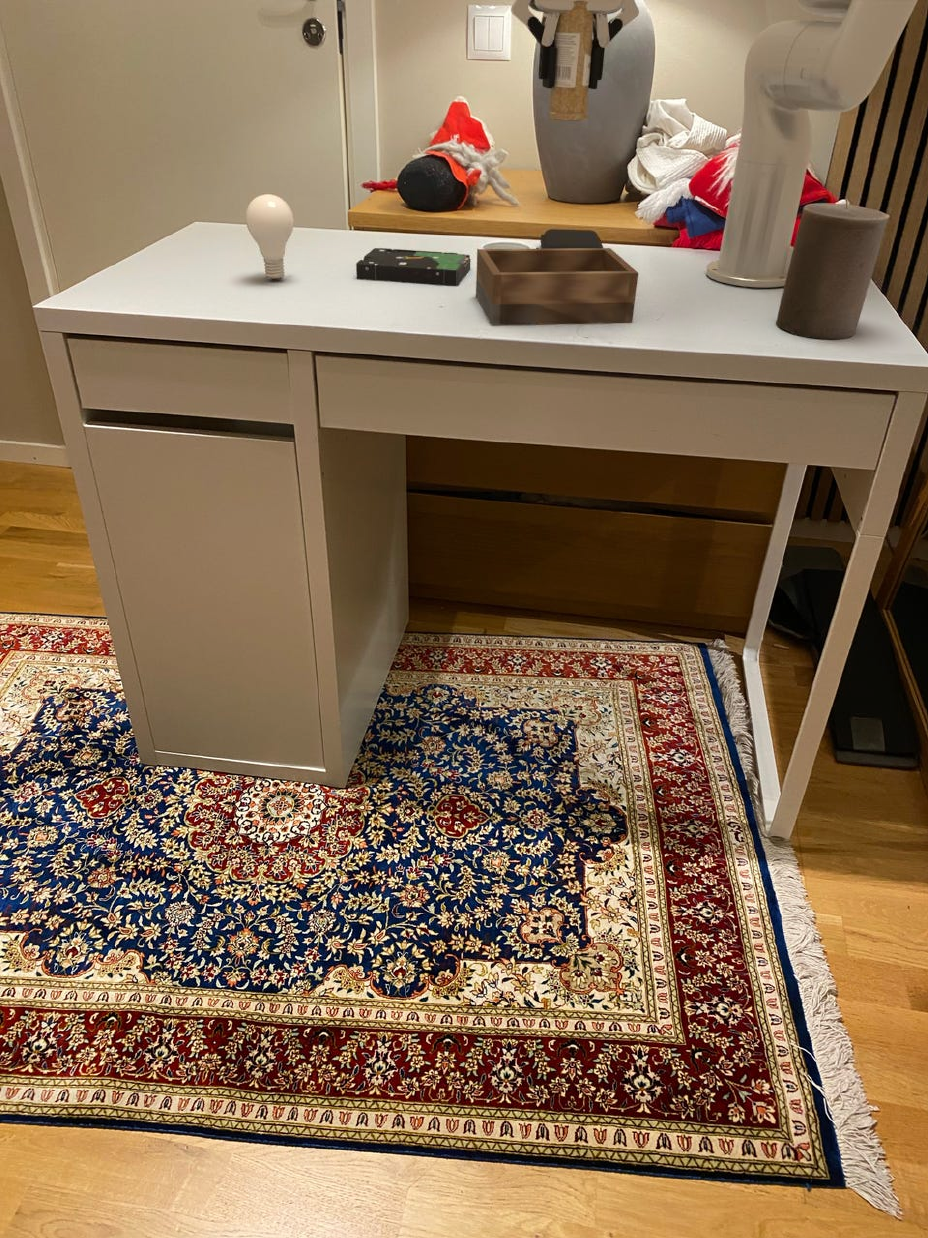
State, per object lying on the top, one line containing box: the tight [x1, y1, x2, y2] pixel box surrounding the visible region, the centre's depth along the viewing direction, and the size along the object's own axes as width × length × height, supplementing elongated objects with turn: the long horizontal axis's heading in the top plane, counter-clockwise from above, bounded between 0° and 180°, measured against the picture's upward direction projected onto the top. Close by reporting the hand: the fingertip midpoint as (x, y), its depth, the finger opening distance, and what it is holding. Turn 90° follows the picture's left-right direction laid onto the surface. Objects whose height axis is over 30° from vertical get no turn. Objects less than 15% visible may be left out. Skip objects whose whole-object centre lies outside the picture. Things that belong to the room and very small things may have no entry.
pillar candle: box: [775, 198, 891, 340], centre depth 109 cm, size 10×10×15 cm
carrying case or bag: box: [535, 228, 604, 249], centre depth 141 cm, size 11×3×15 cm
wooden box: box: [475, 247, 639, 326], centre depth 115 cm, size 18×13×6 cm
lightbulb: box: [245, 193, 295, 282], centre depth 122 cm, size 6×6×11 cm
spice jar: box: [548, 0, 594, 122], centre depth 101 cm, size 5×5×13 cm
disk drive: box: [355, 247, 471, 287], centre depth 130 cm, size 10×3×15 cm
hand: (569, 85), depth 103 cm, fingers closed on spice jar, 4 cm apart
